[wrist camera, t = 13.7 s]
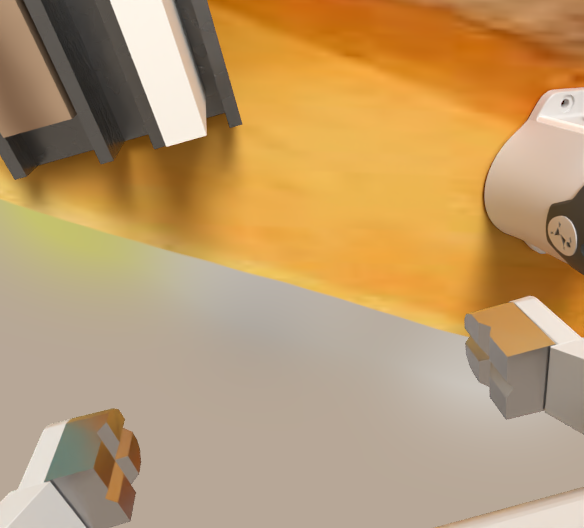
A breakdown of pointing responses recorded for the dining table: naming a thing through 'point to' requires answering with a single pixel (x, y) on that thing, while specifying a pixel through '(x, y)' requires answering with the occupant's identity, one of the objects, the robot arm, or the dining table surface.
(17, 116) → the offcut upper
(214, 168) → the dining table surface
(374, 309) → the dining table surface
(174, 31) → the tall sheet
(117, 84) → the rack
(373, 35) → the dining table surface
